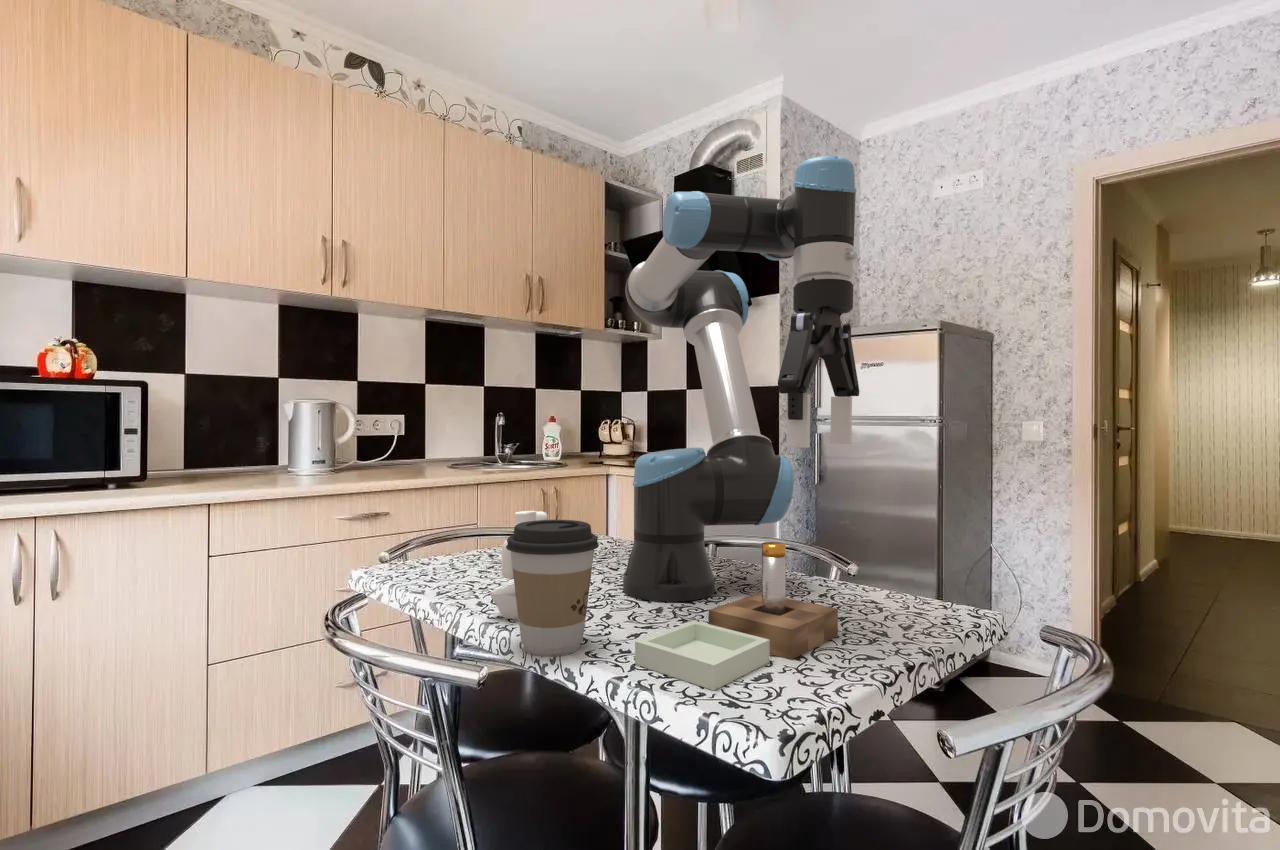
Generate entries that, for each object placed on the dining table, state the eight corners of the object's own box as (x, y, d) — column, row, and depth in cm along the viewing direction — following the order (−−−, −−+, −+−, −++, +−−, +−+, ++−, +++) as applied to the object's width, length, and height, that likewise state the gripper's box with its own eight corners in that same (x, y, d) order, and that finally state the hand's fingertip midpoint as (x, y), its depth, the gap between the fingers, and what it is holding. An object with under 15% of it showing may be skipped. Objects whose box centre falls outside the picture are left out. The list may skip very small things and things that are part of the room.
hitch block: (708, 637, 85) (708, 610, 85) (758, 617, 94) (758, 592, 94) (792, 659, 77) (792, 629, 77) (837, 635, 86) (837, 608, 86)
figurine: (484, 621, 91) (484, 513, 91) (522, 604, 100) (522, 505, 100) (528, 627, 88) (529, 516, 88) (563, 609, 97) (564, 508, 97)
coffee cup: (586, 666, 74) (586, 533, 74) (490, 660, 76) (491, 530, 76) (607, 634, 85) (607, 519, 85) (523, 629, 87) (524, 517, 87)
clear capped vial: (757, 636, 85) (757, 543, 85) (769, 631, 87) (769, 540, 87) (777, 641, 83) (778, 546, 83) (789, 636, 85) (789, 543, 85)
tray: (635, 664, 75) (635, 641, 75) (693, 640, 83) (693, 620, 83) (713, 690, 68) (713, 665, 68) (769, 662, 76) (769, 639, 76)
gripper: (810, 260, 73) (807, 450, 74) (884, 293, 93) (881, 443, 93) (750, 269, 78) (748, 447, 78) (833, 298, 97) (830, 441, 98)
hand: (820, 445), depth 86 cm, fingers open, 13 cm apart
